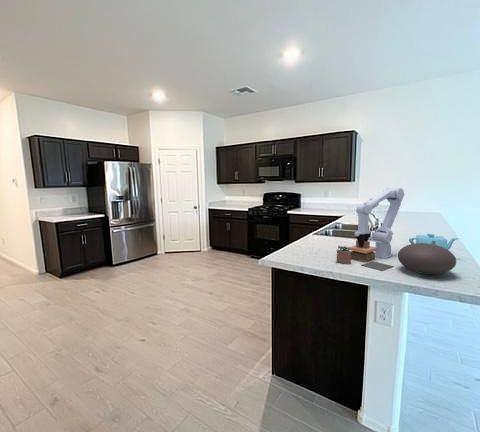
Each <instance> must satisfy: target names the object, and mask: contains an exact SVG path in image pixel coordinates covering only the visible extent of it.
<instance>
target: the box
mask: <svg viewBox="0 0 480 432" xmlns="http://www.w3.org/2000/svg"><path fill="white" fill-rule="evenodd" d="M350 251H351V250H350ZM375 259H376V257H375V251H374V252H370V253H367V254H366V253H361V252H356V251H351V260H354V261H358V262H362V263H369V262H372V261H375Z"/></svg>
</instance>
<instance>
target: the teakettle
mask: <svg viewBox="0 0 480 432" xmlns="http://www.w3.org/2000/svg"><path fill="white" fill-rule="evenodd" d="M459 239H460V238H459V237H454V238H453V237H452V238H451V239H449V240H448V239H446V237H444V236H441V235H440V236H438V235H436V234H434V233H426V235H425V234H422V235H421V234H416V236H415V237H409V239H408V242H409V243H410V244H415V243H428V244H434V245H438V246H441V247H443V248H445V249H447V250H449V251H450V249H451V248H452V246H453V244H454V241H456V240H457V241H458V240H459ZM414 240H415V241H414Z"/></svg>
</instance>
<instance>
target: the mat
mask: <svg viewBox="0 0 480 432" xmlns="http://www.w3.org/2000/svg"><path fill="white" fill-rule="evenodd" d="M360 266H361V267H363V268H364V267H365V268H369V269H373V270H377V271H380V272H383V271H386V270H388V269H391V268H394V265H390V264H385V263H382V262H378V261H374V260H371V261H368V262H365V263H362V264H361V265H360Z"/></svg>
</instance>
